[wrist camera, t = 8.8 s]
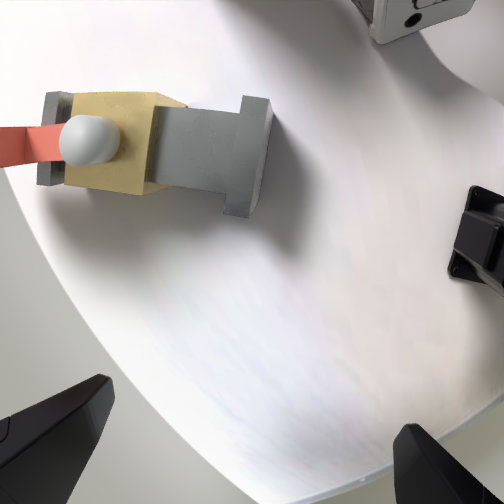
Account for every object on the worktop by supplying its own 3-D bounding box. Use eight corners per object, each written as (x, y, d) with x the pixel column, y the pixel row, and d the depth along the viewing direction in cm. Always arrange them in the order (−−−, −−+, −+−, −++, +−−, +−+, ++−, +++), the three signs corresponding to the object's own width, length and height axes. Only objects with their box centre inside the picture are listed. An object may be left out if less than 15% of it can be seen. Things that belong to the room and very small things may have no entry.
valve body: (273, 112, 17) (269, 99, 13) (257, 202, 19) (248, 218, 15) (89, 99, 18) (46, 92, 14) (80, 175, 20) (36, 184, 15)
